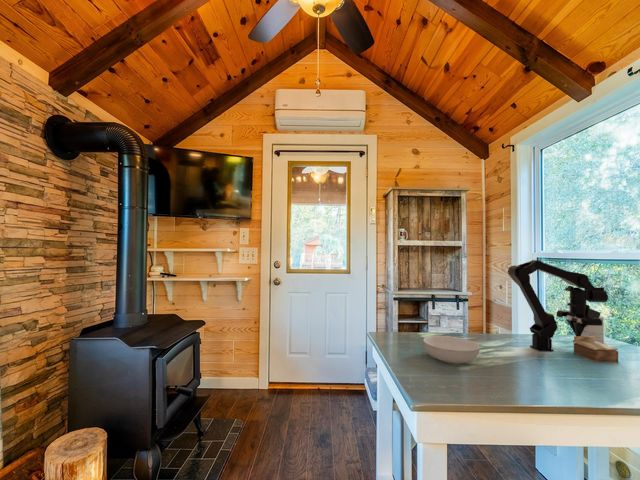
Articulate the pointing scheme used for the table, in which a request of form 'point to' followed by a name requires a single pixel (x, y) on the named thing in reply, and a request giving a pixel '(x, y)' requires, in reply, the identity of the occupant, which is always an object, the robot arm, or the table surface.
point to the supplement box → (595, 332)
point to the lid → (591, 343)
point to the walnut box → (596, 354)
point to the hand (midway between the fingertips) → (578, 337)
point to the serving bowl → (451, 349)
